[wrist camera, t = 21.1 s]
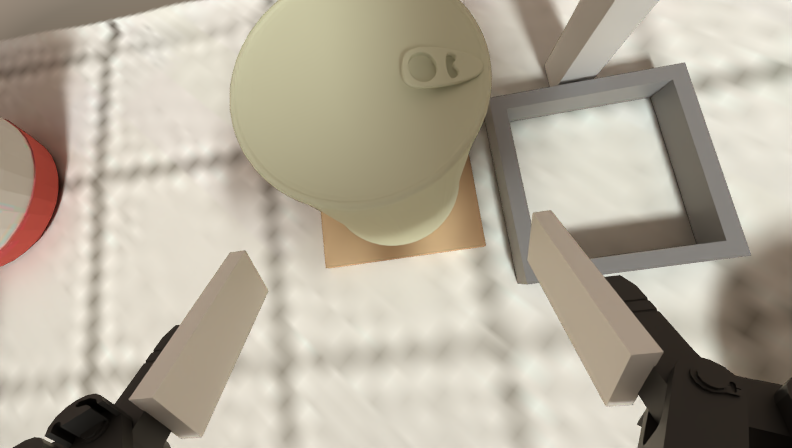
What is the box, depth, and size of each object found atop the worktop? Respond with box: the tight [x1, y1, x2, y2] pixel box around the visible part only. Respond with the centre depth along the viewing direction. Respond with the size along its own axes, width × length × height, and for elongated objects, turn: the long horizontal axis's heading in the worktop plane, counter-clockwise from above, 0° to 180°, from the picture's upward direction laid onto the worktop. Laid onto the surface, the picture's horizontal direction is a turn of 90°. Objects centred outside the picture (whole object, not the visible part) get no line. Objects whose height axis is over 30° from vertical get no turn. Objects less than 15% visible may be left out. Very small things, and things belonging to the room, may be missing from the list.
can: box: [230, 0, 492, 246], centre depth 16 cm, size 9×9×12 cm
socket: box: [484, 0, 751, 284], centre depth 14 cm, size 12×15×14 cm
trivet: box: [321, 155, 486, 268], centre depth 22 cm, size 11×11×1 cm
